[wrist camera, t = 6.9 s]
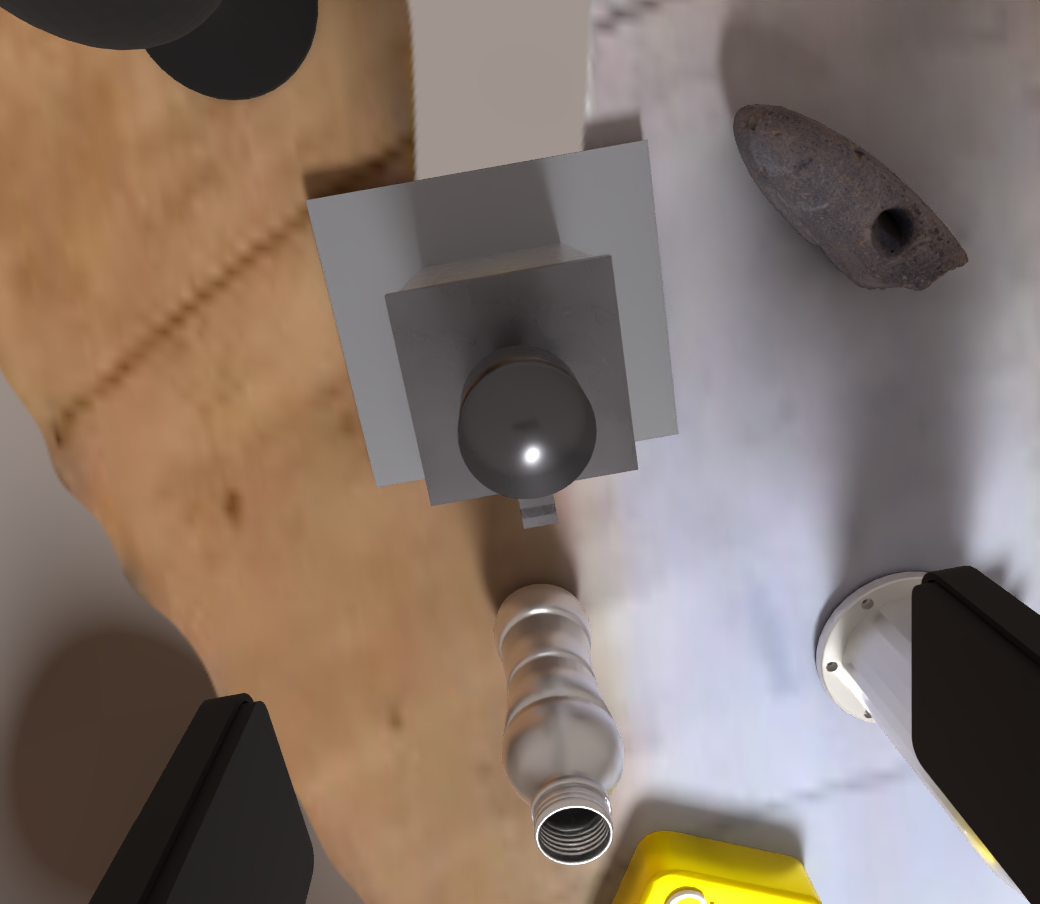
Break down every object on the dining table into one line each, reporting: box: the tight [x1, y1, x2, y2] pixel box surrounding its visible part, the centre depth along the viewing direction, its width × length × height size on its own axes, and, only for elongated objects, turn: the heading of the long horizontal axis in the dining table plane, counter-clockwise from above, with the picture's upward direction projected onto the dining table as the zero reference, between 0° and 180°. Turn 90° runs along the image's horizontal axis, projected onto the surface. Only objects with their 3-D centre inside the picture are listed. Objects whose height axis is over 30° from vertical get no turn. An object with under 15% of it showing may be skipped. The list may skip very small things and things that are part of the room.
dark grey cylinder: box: [458, 345, 597, 499], centre depth 33 cm, size 4×4×20 cm
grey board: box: [306, 140, 678, 487], centre depth 46 cm, size 20×18×1 cm
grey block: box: [384, 242, 638, 529], centre depth 38 cm, size 9×12×17 cm
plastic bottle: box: [494, 584, 624, 865], centre depth 44 cm, size 6×7×20 cm
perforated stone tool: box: [733, 104, 968, 291], centre depth 42 cm, size 15×5×7 cm, turn 51°
